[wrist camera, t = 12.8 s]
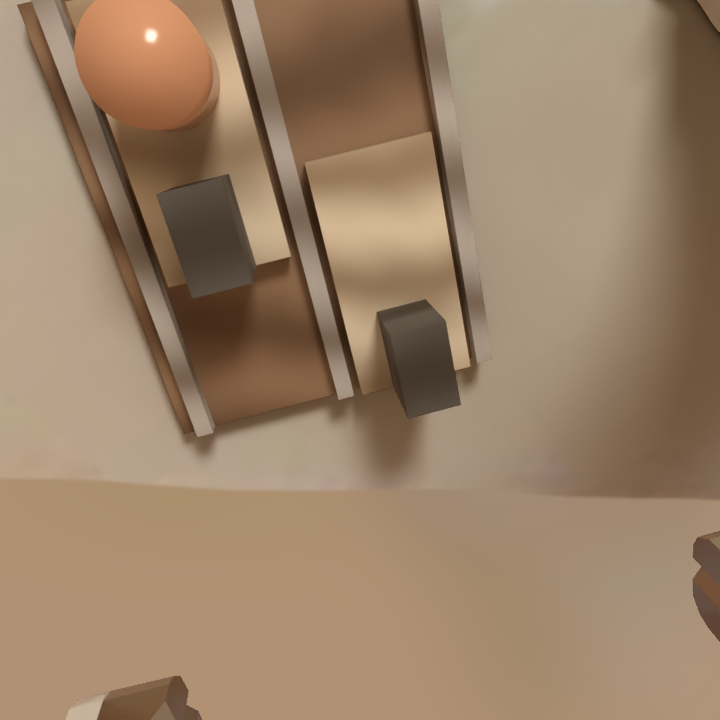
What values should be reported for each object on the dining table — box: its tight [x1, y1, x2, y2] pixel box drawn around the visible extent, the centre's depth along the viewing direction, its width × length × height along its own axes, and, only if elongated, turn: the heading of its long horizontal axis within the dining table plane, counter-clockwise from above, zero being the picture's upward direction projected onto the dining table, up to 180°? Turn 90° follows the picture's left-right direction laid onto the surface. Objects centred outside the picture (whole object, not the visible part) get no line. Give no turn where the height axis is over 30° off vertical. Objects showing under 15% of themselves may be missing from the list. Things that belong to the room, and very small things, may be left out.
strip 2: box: [304, 132, 471, 419], centre depth 32 cm, size 14×7×6 cm, turn 13°
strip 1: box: [65, 0, 291, 299], centre depth 28 cm, size 14×7×6 cm, turn 13°
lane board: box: [17, 0, 492, 437], centre depth 32 cm, size 24×20×2 cm
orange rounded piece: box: [74, 0, 220, 132], centre depth 26 cm, size 5×5×6 cm
